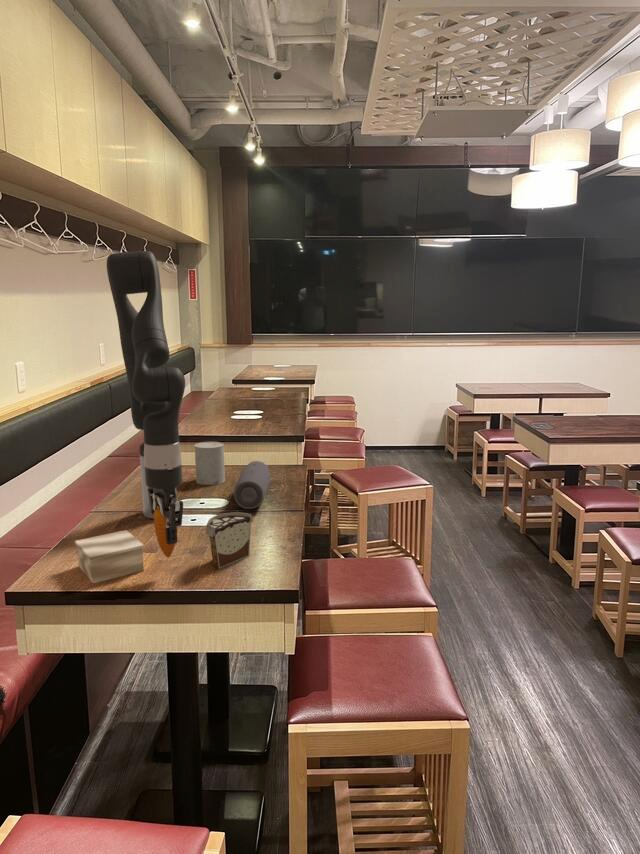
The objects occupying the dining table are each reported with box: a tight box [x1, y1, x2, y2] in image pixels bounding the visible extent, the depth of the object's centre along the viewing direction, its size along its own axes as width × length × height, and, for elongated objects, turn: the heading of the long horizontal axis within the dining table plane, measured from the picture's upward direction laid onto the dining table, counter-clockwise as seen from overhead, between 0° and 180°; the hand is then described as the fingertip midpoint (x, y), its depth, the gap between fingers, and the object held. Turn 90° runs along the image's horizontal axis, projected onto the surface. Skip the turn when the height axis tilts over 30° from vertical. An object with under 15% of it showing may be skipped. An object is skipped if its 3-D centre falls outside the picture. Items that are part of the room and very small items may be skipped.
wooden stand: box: [74, 529, 145, 584], centre depth 140 cm, size 12×12×6 cm
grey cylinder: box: [194, 441, 226, 486], centre depth 208 cm, size 10×10×12 cm
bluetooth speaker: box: [233, 460, 271, 510], centre depth 187 cm, size 23×9×10 cm, turn 0°
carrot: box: [153, 495, 179, 559], centre depth 135 cm, size 5×5×15 cm
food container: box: [205, 511, 254, 570], centre depth 145 cm, size 12×6×10 cm, turn 141°
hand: (167, 539), depth 136 cm, fingers closed on carrot, 4 cm apart
